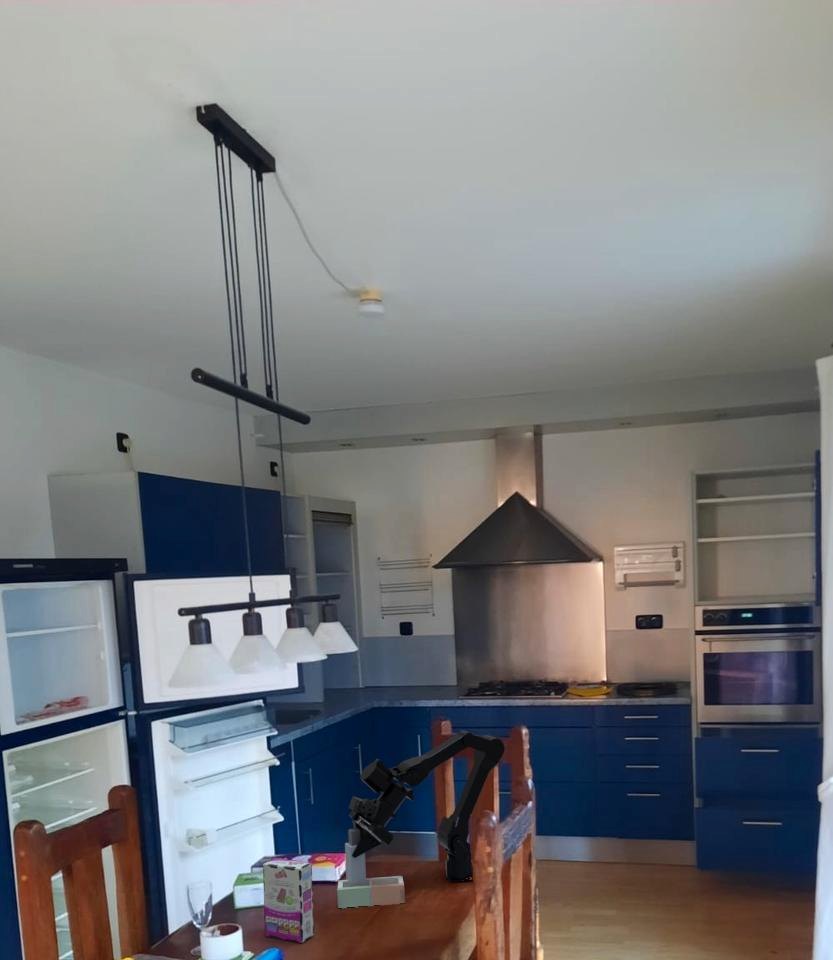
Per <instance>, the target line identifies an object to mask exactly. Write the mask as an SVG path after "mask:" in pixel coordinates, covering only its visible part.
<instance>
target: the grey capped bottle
mask: <svg viewBox="0 0 833 960" xmlns="http://www.w3.org/2000/svg"><path fill="white" fill-rule="evenodd" d="M347 835H348V842H345V843H344V854H345V878H346V879H345V880H348V881H349V882H350V883H351V884H355V883H360V882H364V881H366V878H367V871H366V869H367V867H366V866H367V865H366V852H365V853H363V854H362V855H360V856H358V857H356V858H354V857H352V854H353V852H354V850H355V848H356V847H357V845H358V843H359V841H360V830H359V829H358V828H355V829H354V828H350V829H348V831H347Z"/></svg>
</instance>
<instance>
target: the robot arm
mask: <svg viewBox="0 0 833 960" xmlns="http://www.w3.org/2000/svg"><path fill="white" fill-rule="evenodd" d="M467 748H471V749H474V751H473V765H472V768H471V770H470V773H469V775H468V777H467V779H466V781H465V782H466V783H465V785H464V786H463V790H462V792H461V794H460V796H459V799H458V802H457V804H456V805H455V808H454V811H453V812H452V814H450V815H449V817H447V816H445V815H444V816H443V817H442V819H441V821H440V822H441V823H440V825H439V826H438V828H437V829H436V830H437V831H438V832H437V836H436V837H437V840H438V843H439V845H441V846H442V847H443V849H444V851H445V852H446V853H447V854H446V855H447V856H446V857H447V858H446V859H445V871H446V872H445V874H446V878H447V879H448V880H449V883H458V882H459V881H462V880H469V879H470V878H469V877H472V881H471V882H473V881H474V880H473V878H474V877H473V865H472V864H473V862H472V863H471V860H472V857H471V853H470V845H471V844H470V843H469V842H468V838H469V834H470V819H471V817H470V814H472V815H473V814H474V813H473V812H474V810H475V807H476V805H477V803H478V800H479V798H480V795H481V793H482V791H483V788H484V787H485V784H486V782H487V779H488V776H489V774H490V772H491V771H492V770H493V769H494V768H495V767H497V765H498V764H499V762H500V761H501V759H502V758H503V757H504V754H505V752H506V751H505V750H506V747H505V745H504V742H503V741H502V740H501V739H500V738H496V737H493V736H491V735H488V734H487V735H486V734H485V735H482V736H479V735H476V734H473V733H471V732H469V731H466V730H460V731H458V732H457V733H456V734H455V735H453V736H451V737H450V738H448V739H446V740H444V741H443V742H441V744H439V745H437V746H436V747H434V748H432V749H431V750H429V751H427V752H426V753H424V754H421V755H418V756H415V757H411V758H409V759H406V760H403V761H402V762H400V763H399V764H398V765H397V766H394V767H391V768H388V767H387V766H385V764H384V763H383V762H382V761H381V760H380V759H378V758H376V759H374V761H372V762H371V763H369V764H368V765H367V766H365V767H364V769H363V770H362V772H361V774H360V775H359V776H360V780H361V781H362V782H363V783H364V784H366V786H368V787H369V789H371V790H372V792H374V793H375V794H376V793H377V794H379V793H381V794H380V795H379V797H378V798H373V799H372V800H371V799H368V798H364V799H362V798H359V797H356V796H354V795H353V796H352V798H351V801H350V803H349V806H348V809H349V810H351V811H350V813H349V814H348V816H349V817H350V818H351V819H352V825H353V829H355V828H358V829H359V830H360V841H359V843H358V845H357V847H356V848H355V850H354V852H353V854H352V857H354V858H356V857H358V856H360V855H362V854H363V853H365V854H366V853H367V852H368V851H371V850H372V849H374V848H376V847H378V846H382V845H383V843H384V845H386V847H390V846H391V844H392V843H393V842H394V835H393V833H391V832H390V831H389V830H388V829H387V828H386V826H387V825H388V822H389V821H390V820H391V819H396V817H397V815H396V814H395V813H396V811H397V810H398V809H399V808H400V806H401V805H402V804H403V802H404V801H405V799H409V801H411V802H412V801H413V802H414V800H415V798H414V789H412V788H410V787H413V788H414V787H417V786H420V785H421V784H422V783H423V782H424V781H425V780H426V779H427V778H428V777H429V776H430V774H431V773H432V771H433V770H435V769H436V768H437V767H439V766H441V765H442V764H444V763H445V762H447V761H448V760H450V759H452V758H453V757H455V756H456V755H458V754H459V753H462V751H465V750H466V749H467ZM393 780H395V781H397V783H396V782H395V781H393ZM403 783H404V784H405V785H408V786H409V788H407V787H406V786H405V785H404V784H403ZM382 842H383V843H382ZM466 878H468V879H466ZM462 882H463V881H462Z"/></svg>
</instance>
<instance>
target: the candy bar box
mask: <svg viewBox="0 0 833 960" xmlns="http://www.w3.org/2000/svg"><path fill="white" fill-rule="evenodd" d="M312 866H313V863H312V862H309V861H308V862H307V861H301V860H295V859H294V860H292V859H285V858H277V857H275V858H272V859H270V860H268V861H266V862H264V863H263V864H262V872H263V873H262V874H263V877H262V879H263V912H264V913H263V915H264V918H263V919H264V920H263V921H264V936H265V937H268V938H272V939H278V940H282V941H283V940H284V941H288V942H294V943H300V944H303V943H305V942H307V941H308V940H309V939H311V938H312V937H314V936H315V932H314V931H315V930H314V929H315V926H314V896H313V867H312Z"/></svg>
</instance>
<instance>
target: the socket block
mask: <svg viewBox="0 0 833 960" xmlns="http://www.w3.org/2000/svg"><path fill="white" fill-rule="evenodd" d="M336 891H337V892H336V893H337V909H338V908H342V909H348V908H347V907H355V908H359V907H358V906H368V907H375V906H374V905H381V906H390V905H391V906H393V904H394V905H401V904H400V903H405V904H406V901H405V900H406V899H405V898H406V896H405V895H406V894H405V882H404V880H403V875H394V876H393V875H392V876H382V877H369V878H368V877H366V881H364V882H360V883H355V884H351V883H350V882H349V881H348V880H346V879H342V880H341V879H338V882H337V890H336Z"/></svg>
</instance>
